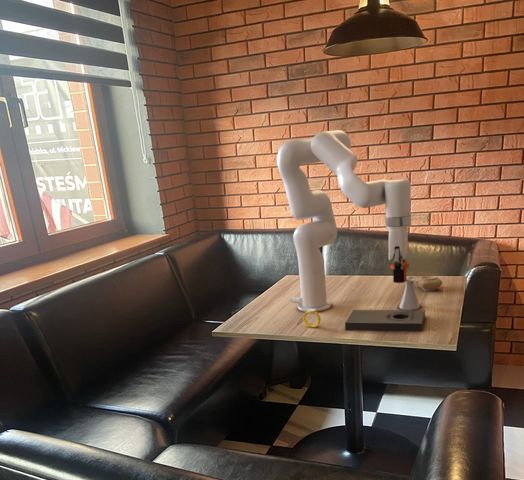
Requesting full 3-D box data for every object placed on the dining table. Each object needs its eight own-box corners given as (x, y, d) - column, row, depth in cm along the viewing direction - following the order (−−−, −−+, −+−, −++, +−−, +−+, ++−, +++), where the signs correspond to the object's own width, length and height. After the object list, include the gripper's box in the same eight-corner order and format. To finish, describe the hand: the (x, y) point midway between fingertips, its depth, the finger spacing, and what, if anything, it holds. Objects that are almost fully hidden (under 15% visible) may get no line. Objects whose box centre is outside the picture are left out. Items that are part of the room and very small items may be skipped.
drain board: (345, 330, 175) (345, 322, 174) (353, 316, 187) (353, 309, 186) (421, 331, 167) (421, 323, 166) (424, 317, 179) (424, 310, 178)
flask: (420, 310, 186) (420, 282, 183) (399, 311, 188) (399, 283, 185) (419, 304, 193) (419, 277, 190) (398, 305, 195) (398, 278, 191)
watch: (302, 327, 183) (301, 310, 181) (306, 324, 185) (305, 308, 183) (318, 328, 179) (317, 311, 177) (322, 326, 182) (320, 309, 179)
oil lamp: (407, 285, 219) (407, 273, 217) (444, 285, 213) (444, 273, 211) (402, 292, 210) (402, 280, 208) (441, 292, 204) (441, 279, 202)
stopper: (389, 283, 169) (389, 266, 167) (392, 279, 174) (391, 262, 172) (408, 283, 167) (407, 265, 165) (410, 279, 172) (409, 261, 170)
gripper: (389, 218, 173) (391, 273, 179) (381, 227, 158) (384, 286, 164) (413, 217, 170) (414, 273, 176) (408, 225, 155) (409, 286, 161)
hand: (399, 279), depth 170 cm, fingers closed on stopper, 5 cm apart
